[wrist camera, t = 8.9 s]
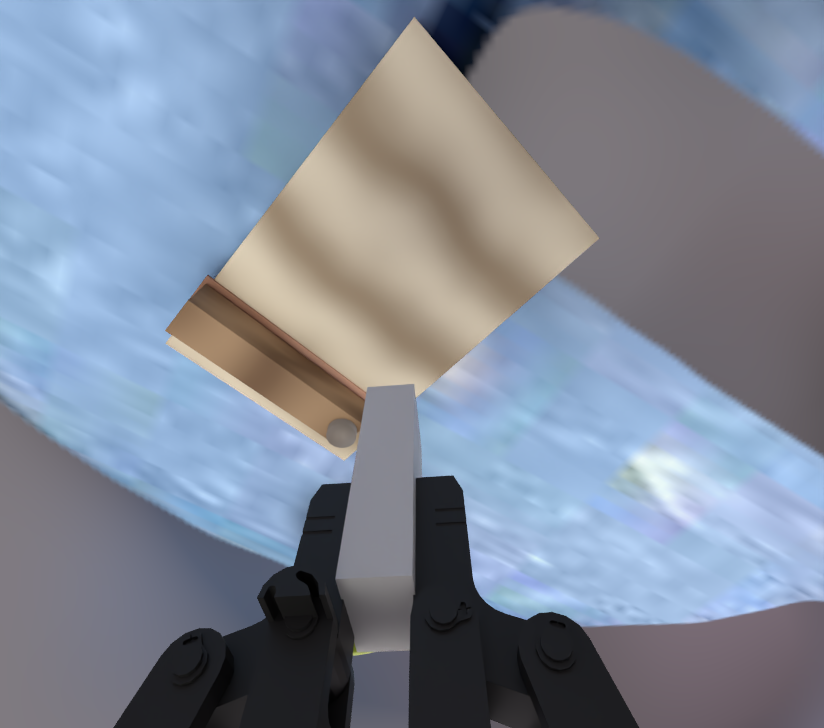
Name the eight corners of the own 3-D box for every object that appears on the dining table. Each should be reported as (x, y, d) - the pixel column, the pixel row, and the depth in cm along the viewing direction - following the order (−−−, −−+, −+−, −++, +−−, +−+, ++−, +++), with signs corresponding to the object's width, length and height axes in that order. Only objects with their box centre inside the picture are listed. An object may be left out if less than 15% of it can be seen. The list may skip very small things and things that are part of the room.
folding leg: (368, 403, 30) (365, 433, 27) (345, 424, 31) (340, 455, 28) (205, 283, 25) (183, 304, 23) (183, 312, 26) (159, 335, 24)
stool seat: (407, 17, 22) (407, 7, 19) (583, 227, 27) (600, 239, 24) (177, 322, 30) (158, 340, 27) (347, 438, 35) (343, 461, 32)
